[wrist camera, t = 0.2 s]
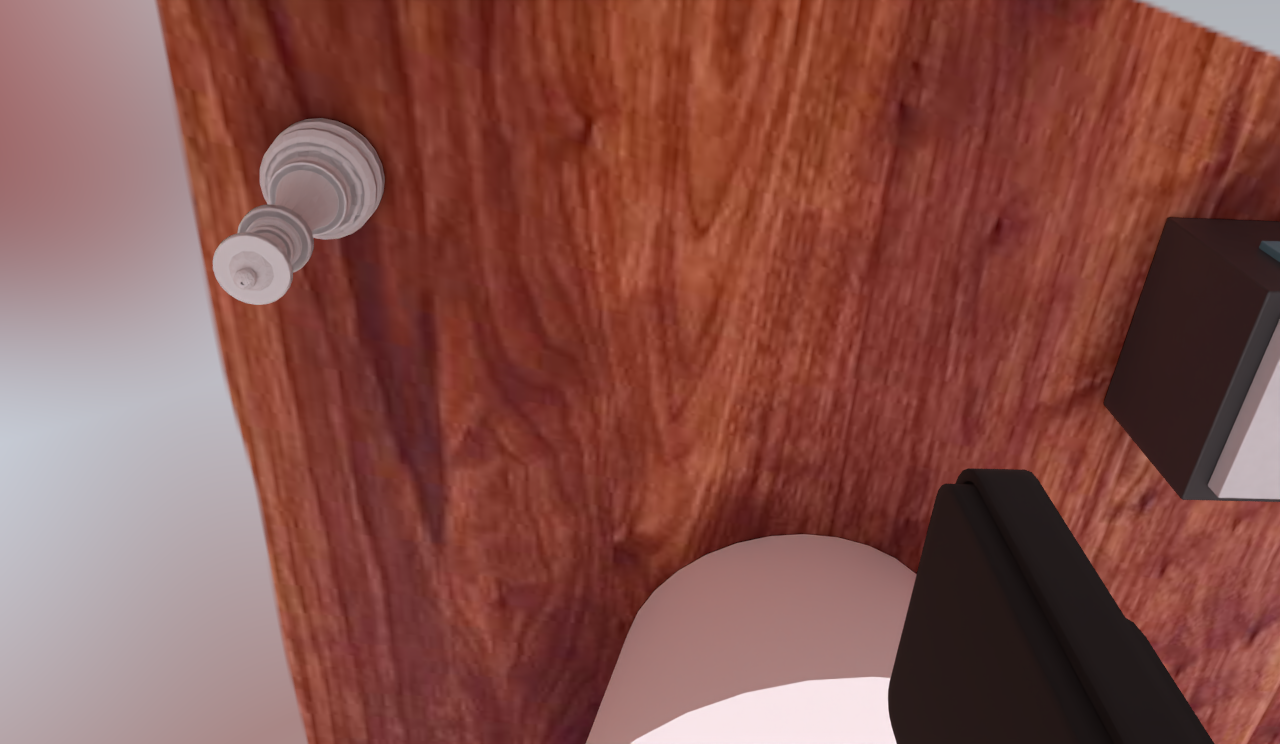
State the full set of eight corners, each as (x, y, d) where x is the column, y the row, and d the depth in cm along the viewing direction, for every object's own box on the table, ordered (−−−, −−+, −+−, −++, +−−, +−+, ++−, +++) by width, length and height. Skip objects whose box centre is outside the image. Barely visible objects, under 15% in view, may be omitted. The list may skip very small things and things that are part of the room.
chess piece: (298, 93, 35) (197, 185, 27) (405, 157, 37) (341, 264, 28) (252, 188, 37) (143, 302, 29) (355, 246, 39) (281, 372, 30)
